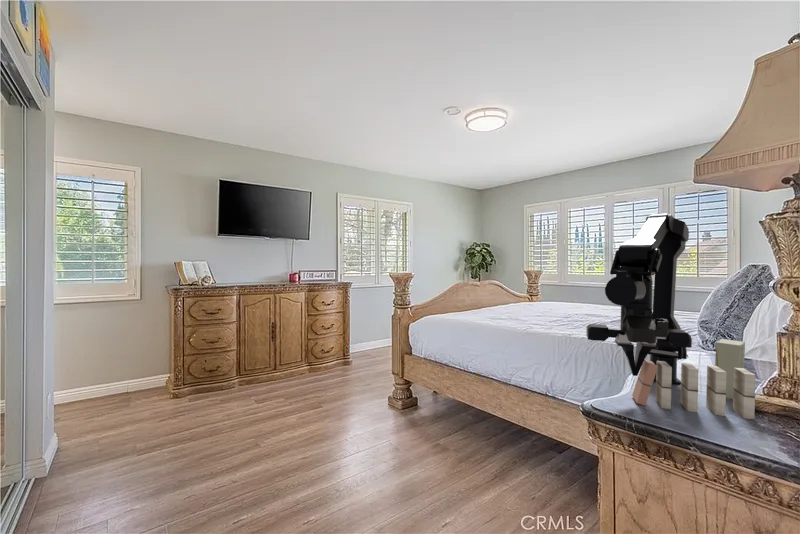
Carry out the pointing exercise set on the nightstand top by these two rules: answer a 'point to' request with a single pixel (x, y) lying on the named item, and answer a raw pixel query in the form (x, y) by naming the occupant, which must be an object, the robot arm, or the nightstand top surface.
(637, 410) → the nightstand top surface
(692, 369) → the domino
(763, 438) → the nightstand top surface
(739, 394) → the domino
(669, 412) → the nightstand top surface
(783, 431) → the nightstand top surface
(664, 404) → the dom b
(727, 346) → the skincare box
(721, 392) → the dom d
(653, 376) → the domino
